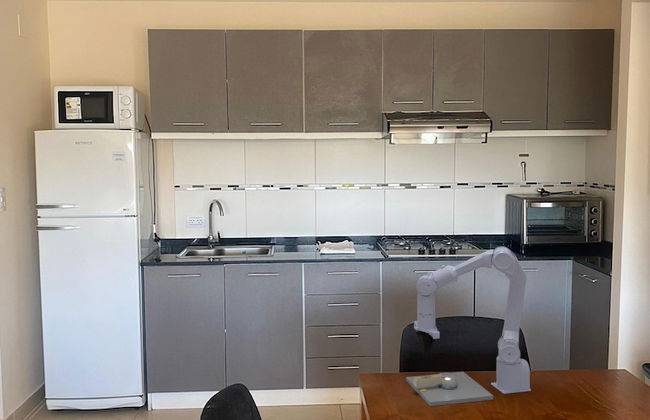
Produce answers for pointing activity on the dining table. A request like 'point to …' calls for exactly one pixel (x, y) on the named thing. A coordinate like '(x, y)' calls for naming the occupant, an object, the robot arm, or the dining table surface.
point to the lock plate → (452, 391)
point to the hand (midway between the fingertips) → (426, 354)
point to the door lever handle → (438, 380)
